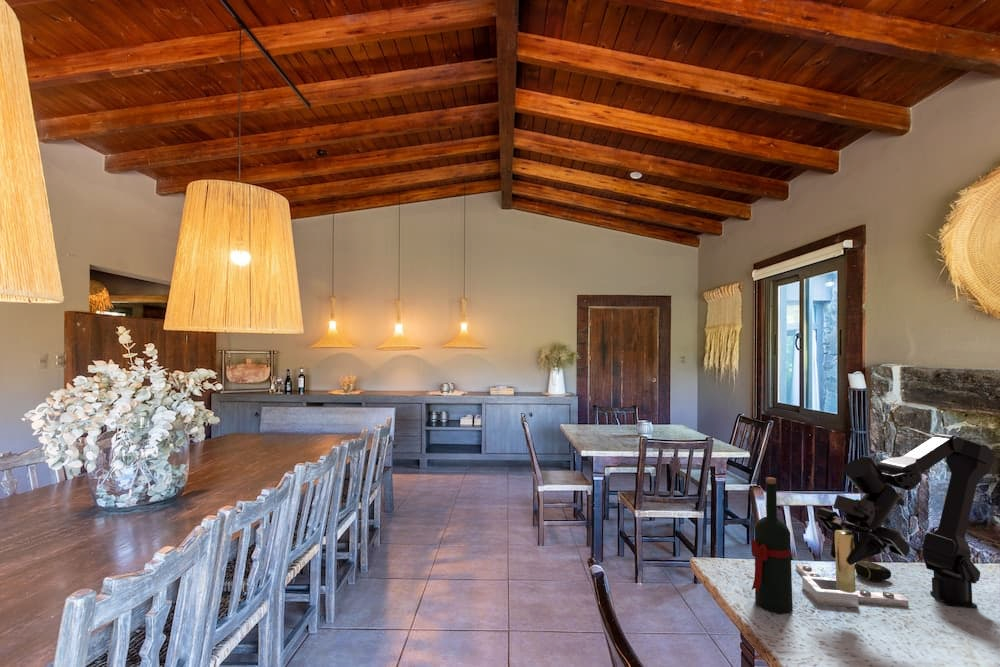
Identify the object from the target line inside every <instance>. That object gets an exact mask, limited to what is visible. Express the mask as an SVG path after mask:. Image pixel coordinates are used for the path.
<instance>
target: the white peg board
mask: <svg viewBox="0 0 1000 667" xmlns="http://www.w3.org/2000/svg"><path fill="white" fill-rule="evenodd" d="M795 570H796V571H797V572H798V573H799V574H800V575H801V580H802V582H801V584H802V585H801V586H802V588H803V590H804V591H805V592H806V593H807V595H808V596H810V598H811V599H812V600H813V601H814V602H815V603H816V604H817V605H824V606H835V607H844V608H845V607H846V608H856V609H857V608H859V603H860V604H868V605H869V604H870V605H882V606H883V605H884V606H890V607H891V606H894V607H905V608H909V607H910V606H909V605H910V604H909V600H908V599H907V598H906V597H905V596H904V595H902V594H900V593H892V592H888V591H882V592H879V591H878V592H877V591H870V590H865V589H859V590H856V592H854V593H848V592H843V591H841V590H839V589H837V588H836V577H835V578H834V577H825V576H824V577H822V576H821V575H819V573H818V572H817V571H816V570H814V568H812V567H811V566H810V565H809V564H804V563H801V564H800V563H795Z"/></svg>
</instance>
